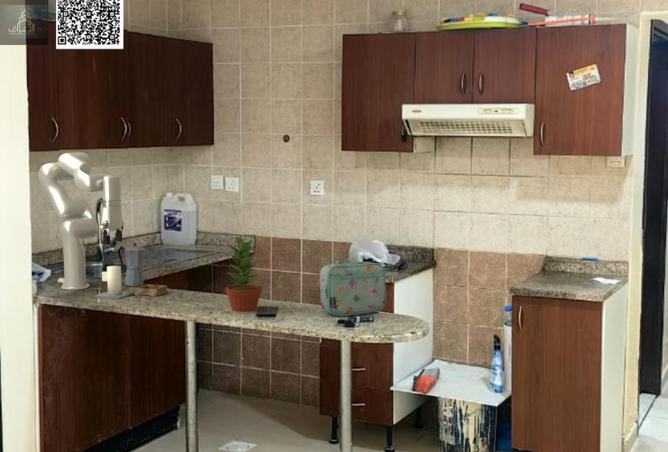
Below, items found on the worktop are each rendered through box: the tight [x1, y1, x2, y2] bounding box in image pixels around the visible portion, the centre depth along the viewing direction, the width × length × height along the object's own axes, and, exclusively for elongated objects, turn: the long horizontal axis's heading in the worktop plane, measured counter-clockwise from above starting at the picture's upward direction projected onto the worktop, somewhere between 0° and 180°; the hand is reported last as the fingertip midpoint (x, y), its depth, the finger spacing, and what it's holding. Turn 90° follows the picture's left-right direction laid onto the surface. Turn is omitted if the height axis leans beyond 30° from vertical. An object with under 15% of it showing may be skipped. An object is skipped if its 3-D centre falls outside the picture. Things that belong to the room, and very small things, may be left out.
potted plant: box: [225, 235, 263, 312], centre depth 403 cm, size 15×15×30 cm
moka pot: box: [116, 242, 148, 288], centre depth 462 cm, size 10×15×20 cm, turn 78°
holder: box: [134, 284, 168, 297], centre depth 440 cm, size 10×10×3 cm
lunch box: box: [319, 260, 387, 317], centre depth 394 cm, size 27×10×21 cm, turn 114°
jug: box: [101, 265, 123, 295], centre depth 436 cm, size 9×6×12 cm
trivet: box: [94, 291, 135, 300], centre depth 436 cm, size 12×12×1 cm
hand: (112, 242), depth 435 cm, fingers open, 9 cm apart
